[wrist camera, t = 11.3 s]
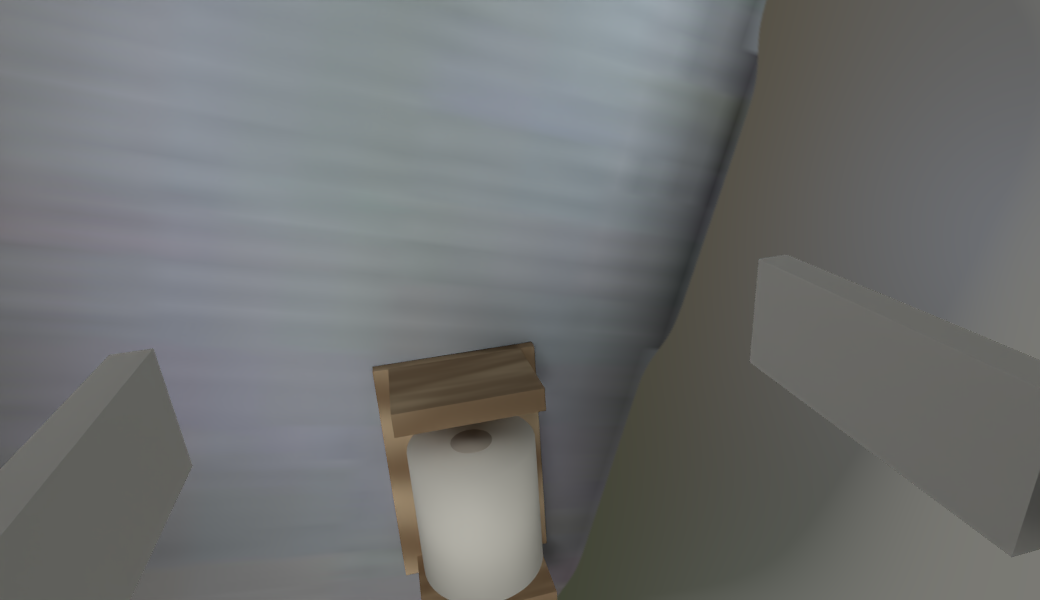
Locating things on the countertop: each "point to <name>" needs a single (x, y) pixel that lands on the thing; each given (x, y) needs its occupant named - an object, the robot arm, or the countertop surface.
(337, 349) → the countertop surface
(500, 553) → the roll
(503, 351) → the holder
